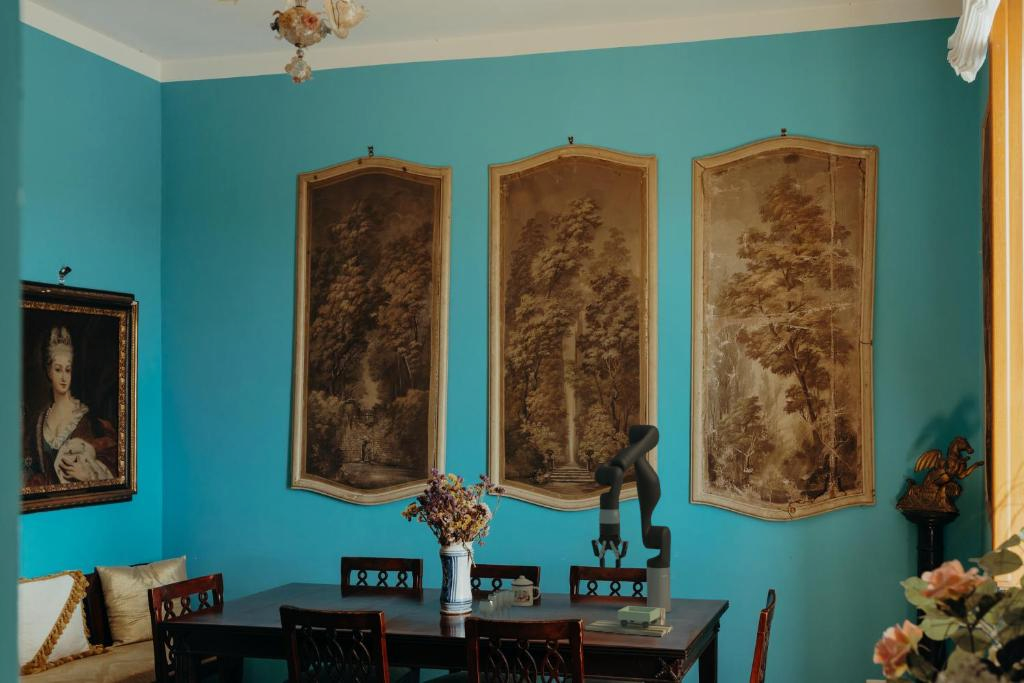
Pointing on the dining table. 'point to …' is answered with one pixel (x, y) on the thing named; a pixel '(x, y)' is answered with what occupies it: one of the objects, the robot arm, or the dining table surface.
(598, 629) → the rail board
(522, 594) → the teacup with lid
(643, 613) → the dolly
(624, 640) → the dining table surface
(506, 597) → the goblet set
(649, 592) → the robot arm
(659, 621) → the cream block
